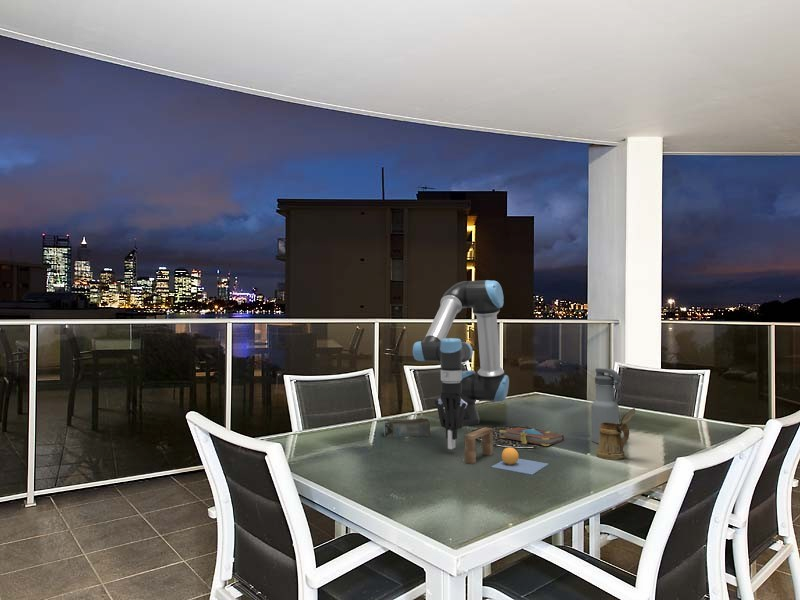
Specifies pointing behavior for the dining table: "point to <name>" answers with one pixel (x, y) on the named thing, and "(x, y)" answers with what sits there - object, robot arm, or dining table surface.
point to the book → (532, 436)
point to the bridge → (471, 444)
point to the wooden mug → (614, 438)
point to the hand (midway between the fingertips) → (451, 448)
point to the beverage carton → (406, 428)
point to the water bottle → (605, 400)
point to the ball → (510, 456)
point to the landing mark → (521, 466)
